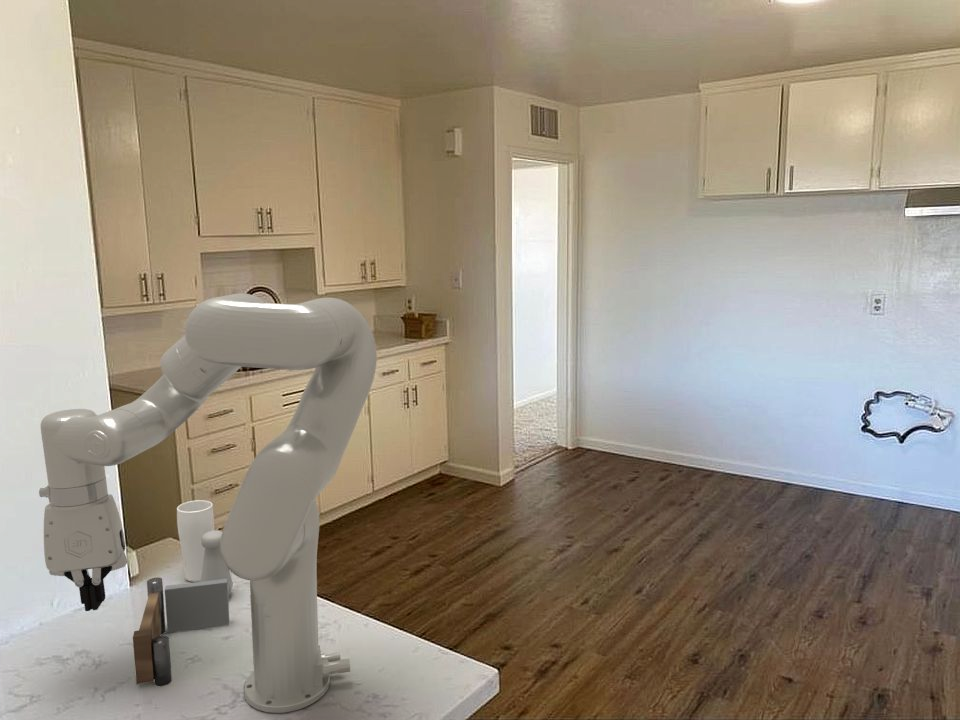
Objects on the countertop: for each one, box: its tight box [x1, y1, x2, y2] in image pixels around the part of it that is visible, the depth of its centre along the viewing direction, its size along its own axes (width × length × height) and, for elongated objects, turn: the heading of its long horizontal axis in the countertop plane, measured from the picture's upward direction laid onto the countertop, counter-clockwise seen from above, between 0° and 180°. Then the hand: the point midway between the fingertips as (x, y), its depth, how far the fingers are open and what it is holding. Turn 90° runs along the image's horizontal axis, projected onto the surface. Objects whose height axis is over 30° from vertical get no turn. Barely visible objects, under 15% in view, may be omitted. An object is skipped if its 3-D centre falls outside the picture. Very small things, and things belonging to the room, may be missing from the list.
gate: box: [132, 593, 162, 685], centre depth 116 cm, size 15×2×8 cm, turn 17°
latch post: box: [152, 634, 173, 687], centre depth 110 cm, size 2×2×7 cm
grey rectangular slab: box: [164, 579, 230, 634], centre depth 126 cm, size 10×2×8 cm, turn 106°
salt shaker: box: [200, 529, 234, 597], centre depth 136 cm, size 6×6×13 cm
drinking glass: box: [176, 499, 215, 583], centre depth 144 cm, size 7×7×15 cm
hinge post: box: [146, 577, 167, 636], centre depth 124 cm, size 2×2×10 cm
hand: (94, 606), depth 111 cm, fingers closed
